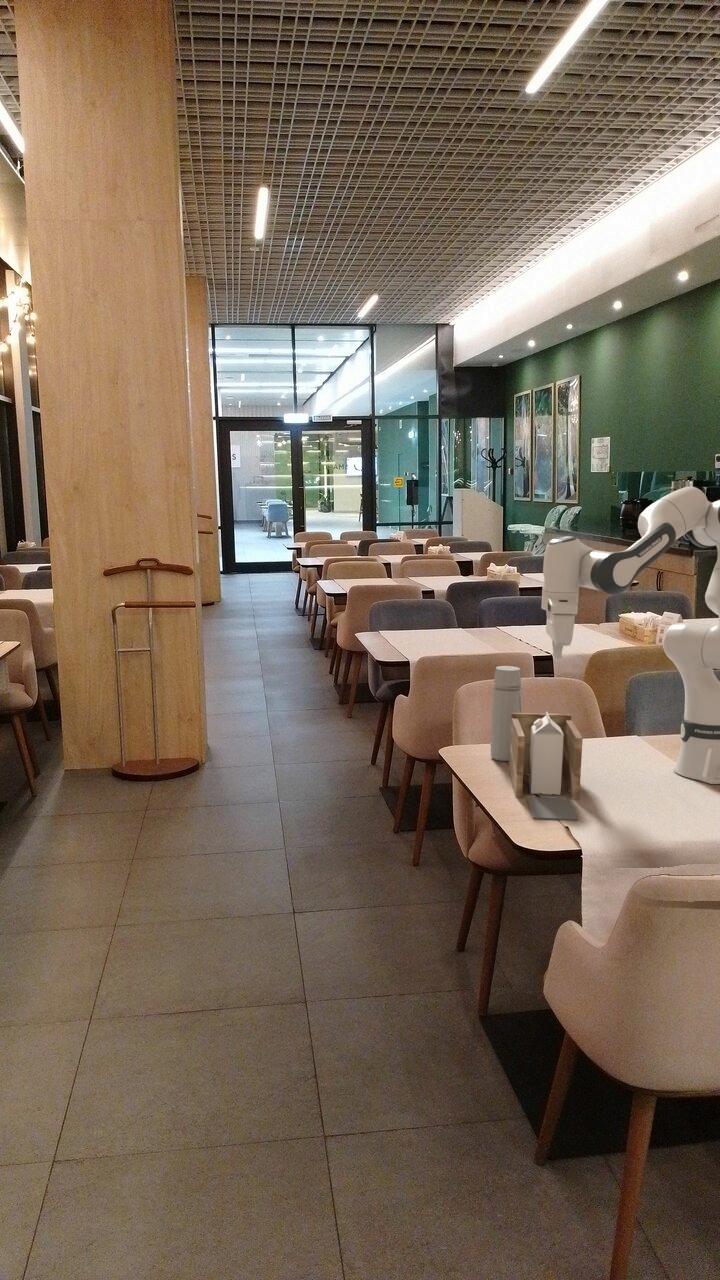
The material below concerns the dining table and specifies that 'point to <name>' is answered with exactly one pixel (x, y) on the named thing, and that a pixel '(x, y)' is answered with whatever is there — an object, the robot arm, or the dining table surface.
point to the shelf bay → (522, 743)
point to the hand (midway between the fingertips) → (557, 657)
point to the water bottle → (504, 709)
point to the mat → (551, 808)
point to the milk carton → (545, 757)
